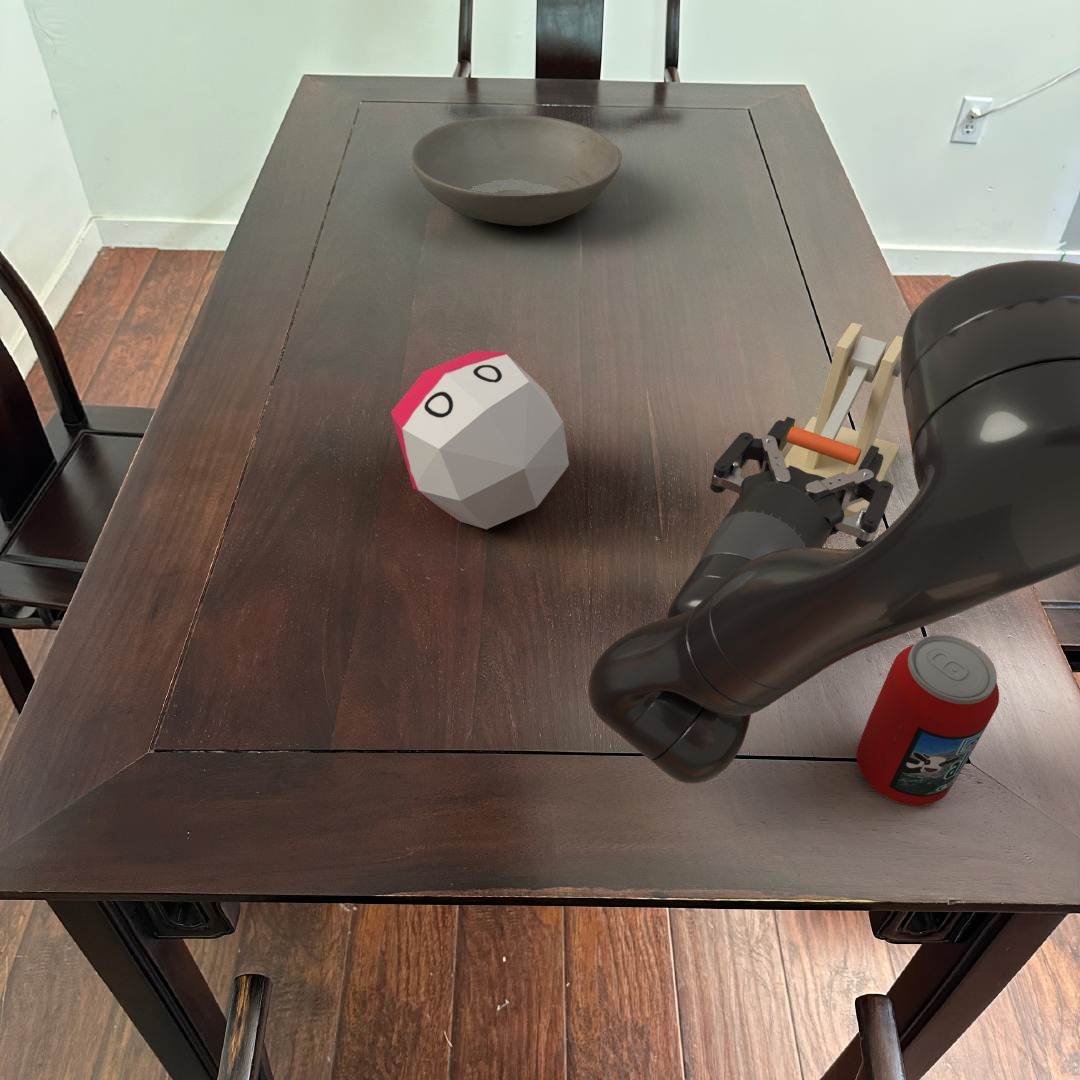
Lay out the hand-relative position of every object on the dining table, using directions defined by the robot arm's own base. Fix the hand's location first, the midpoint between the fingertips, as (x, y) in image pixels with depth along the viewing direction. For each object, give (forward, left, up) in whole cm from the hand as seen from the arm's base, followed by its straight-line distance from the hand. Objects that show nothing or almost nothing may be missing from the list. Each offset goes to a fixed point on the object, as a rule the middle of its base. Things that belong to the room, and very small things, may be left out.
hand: (830, 439), depth 84 cm
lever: (0, -3, +2) cm, 3 cm away
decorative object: (+27, +14, -9) cm, 32 cm away
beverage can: (-15, +23, -9) cm, 29 cm away
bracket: (0, -7, -9) cm, 11 cm away
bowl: (+56, -39, -9) cm, 69 cm away
